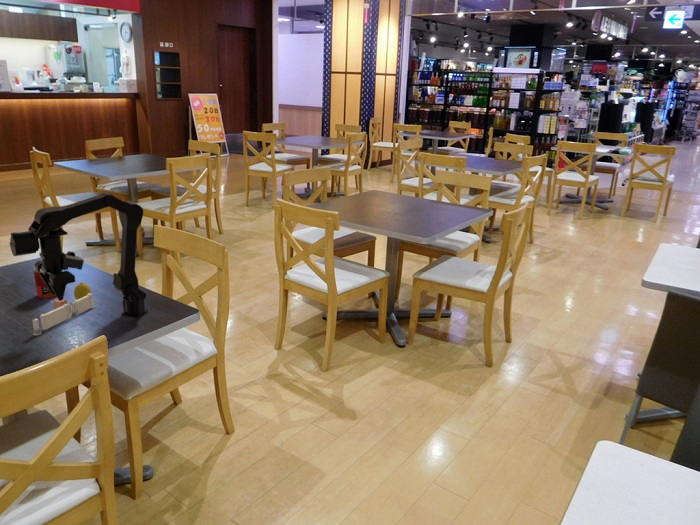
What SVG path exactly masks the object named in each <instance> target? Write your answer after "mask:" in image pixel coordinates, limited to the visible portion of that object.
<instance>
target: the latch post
mask: <svg viewBox="0 0 700 525" xmlns="http://www.w3.org/2000/svg"><path fill="white" fill-rule="evenodd" d="M32 327H33V332H32V335H33V336H36V337H37V336H40V335H42V334H43V333H42V331H41V329H40V322H39V319H38V318H33V319H32Z"/></svg>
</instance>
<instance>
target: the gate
mask: <svg viewBox="0 0 700 525" xmlns="http://www.w3.org/2000/svg"><path fill="white" fill-rule="evenodd" d="M39 317H40V323H41V329H42V330H45V331H46V330H49V328H52V327H53V326H56V325H58V324H60V323H62V322H64V321H66V320H68V319H71V318H72V317H71V311H70V303H67V304H64V305H63V306H61V307H59V308H57V309H52V310H51V311H48V312H46V313H42V314H40V315H39Z"/></svg>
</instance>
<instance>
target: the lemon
mask: <svg viewBox="0 0 700 525" xmlns="http://www.w3.org/2000/svg"><path fill="white" fill-rule="evenodd" d="M73 292H74V293H73V294H74V298H75V301H76V300H78V299H80V298H82V297H84V296H87V294H88V293H90V294H92V289H91V287H90V286H89V285H88V284H87V283H84V282H80V283H79V284H77V285H76V286H75V287H74V290H73Z"/></svg>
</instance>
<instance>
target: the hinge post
mask: <svg viewBox="0 0 700 525" xmlns="http://www.w3.org/2000/svg"><path fill="white" fill-rule="evenodd" d="M69 308H70V316H71V318H76V317H77V313H76V308H75V302H74V301H71V302H69Z"/></svg>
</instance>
